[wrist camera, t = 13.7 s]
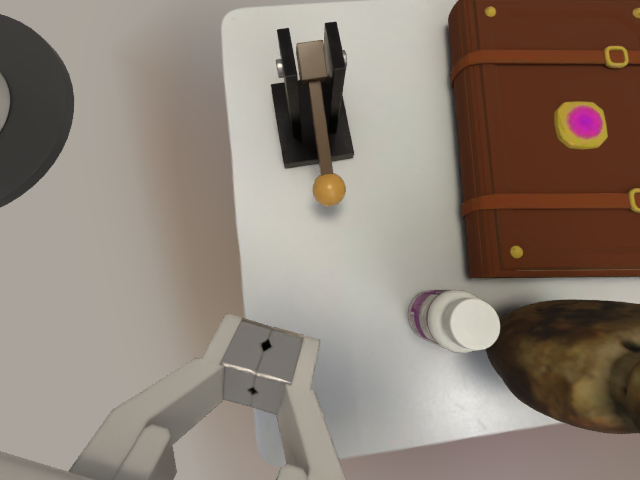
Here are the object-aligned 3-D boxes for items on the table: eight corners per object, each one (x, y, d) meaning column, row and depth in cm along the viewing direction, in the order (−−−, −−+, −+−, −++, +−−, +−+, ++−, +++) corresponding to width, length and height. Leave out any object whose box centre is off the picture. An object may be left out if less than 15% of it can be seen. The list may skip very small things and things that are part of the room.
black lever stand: (352, 158, 37) (371, 96, 25) (284, 168, 37) (271, 111, 25) (337, 81, 38) (348, -11, 27) (272, 90, 38) (253, 2, 26)
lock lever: (344, 200, 33) (350, 205, 30) (314, 205, 32) (316, 211, 29) (325, 49, 29) (329, 36, 26) (290, 54, 29) (290, 42, 26)
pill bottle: (462, 301, 35) (519, 305, 25) (446, 348, 34) (499, 371, 24) (416, 282, 35) (454, 279, 25) (399, 328, 34) (432, 343, 24)
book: (617, 28, 40) (660, -9, 35) (663, 276, 35) (719, 274, 30) (441, 26, 40) (459, -11, 35) (461, 278, 35) (486, 276, 30)
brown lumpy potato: (461, 388, 33) (680, 533, 13) (447, 306, 34) (628, 328, 15) (584, 372, 34) (970, 490, 14) (565, 292, 35) (894, 295, 15)
